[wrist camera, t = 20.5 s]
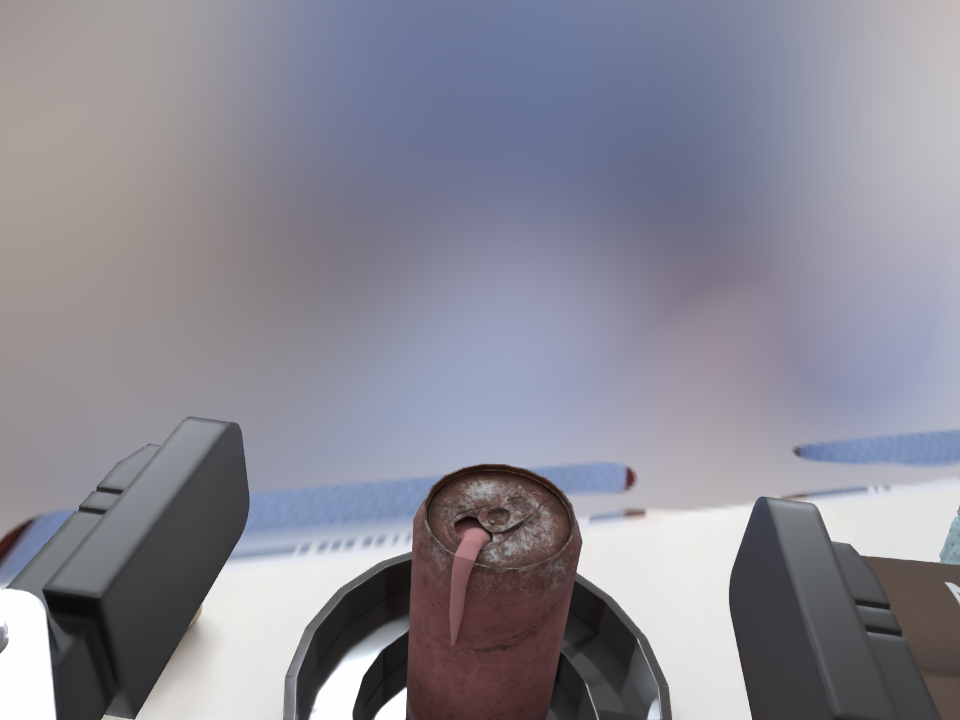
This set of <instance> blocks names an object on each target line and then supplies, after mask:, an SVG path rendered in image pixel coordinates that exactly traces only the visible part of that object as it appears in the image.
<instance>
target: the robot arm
mask: <svg viewBox="0 0 960 720" xmlns="http://www.w3.org/2000/svg"><path fill="white" fill-rule="evenodd" d="M248 511H249V490H248V481H247V473H246V465H245V456H244V448H243V440H242V433H241V429H240V427H239V425H238V424H237V423H233V422H226V421H219V420H211V419H204V418H197V417H187V418H185V419H184V420H183V421H182V422H181V423H180V424H179V425H178V426H177V428H176V429H175V430H174V431H173V432H172V434H171V435H170V436H169V437H168V438H167V440H166V441H165V442H164V443H163V444H162V445H154V444H148V445H146V446H145V447H143V448H141V449H140V450H138V451H136V452H135V453H133V454H132V455H130V456H128V457H127V458H125V459H123V460H122V461H120V462H118V463H117V465H116V466H115V467H114V468H113V469H112V470H111V471H110V472H109V473H108V475H107V476H106V477H105V478H104V479H103V480H102V481H101V482H100V483H99V485H98V486H97V490H96V492H95V491H92V492H91V494H90V495H89V496H88V497H87V498H86V499H85V500H84V501H83V503H82V504H81V505H80V506H79V510H78V512H76V511H74V513H73V514H72V515H71V516H70V517H69V518H68V519H67V520H66V522H65V523H64V524H63V525H62V526H61V527H60V528H59V529H58V531H57V532H56V533H55V534H54V535H53V536H52V537H51V538H50V540H49V541H48V542H47V543H46V544H45V545H44V546H43V547H42V548H41V550H40V551H39V552H38V553H37V554H36V555H35V556H34V557H33V559H32V560H31V561H30V562H29V563H28V564H27V565H26V566H25V568H24V569H23V570H22V571H21V572H20V573H19V574H18V575H17V577H16V578H15V579H14V580H13V581H12V582H11V583H10V584H9V585H8V586H7V587H6V588H5V589H0V720H101V719H102V717H103V716H104V714H105V715H111V716H117V717H122V718H128V719H134V720H135V718H136V716H137V714H138V713H139V711H140V709H141V708H142V706H143V704H144V702H145V701H146V699H147V697H148V696H149V694H150V692H151V690H152V689H153V687H154V685H155V683H156V682H157V680H158V678H159V677H160V675H161V673H162V671H163V670H164V668H165V666H166V664H167V663H168V661H169V659H170V658H171V656H172V654H173V652H174V651H175V649H176V647H177V645H178V644H179V642H180V640H181V639H182V637H183V635H184V633H185V632H186V630H187V628H188V627H189V625H190V623H191V621H192V620H193V618H194V616H195V614H196V613H197V611H198V609H199V608H200V606H201V604H202V602H203V601H204V599H205V597H206V595H207V594H208V592H209V590H210V589H211V587H212V585H213V583H214V582H215V580H216V578H217V577H218V575H219V573H220V571H221V570H222V568H223V566H224V564H225V563H226V561H227V559H228V558H229V556H230V554H231V552H232V551H233V549H234V547H235V545H236V544H237V542H238V540H239V539H240V537H241V535H242V533H243V530H244V527H245V525H246V521H247V517H248ZM729 605H730V613H731V618H732V623H733V627H734V632H735V637H736V642H737V647H738V652H739V657H740V662H741V666H742V671H743V676H744V681H745V686H746V691H747V696H748V701H749V705H750V710H751V715H752V720H942V719H941V716H940V714H939V712H938V710H937V707H936V705H935V703H934V701H933V699H932V696H931V694H930V692H929V690H928V687H927V685H926V683H925V681H924V678H923V676H922V674H921V672H920V669H919V667H918V665H917V663H916V660H915V658H914V656H913V654H912V651H911V649H910V647H909V645H908V642H907V640H906V638H905V637H902V629H901V627H900V624H899V622H898V620H897V618H896V615H895V613H894V611H891V610H890V605H891V604H890V602H889V600H888V598H887V595H886V593H885V591H884V589H883V586H882V584H881V582H880V580H879V577H878V575H877V573H876V572H875V571H874V570H873V569H872V568H871V566H870V565H869V564H868V563H867V562H866V561H865V560H864V559H863V558H862V557H861V556H860V555H859V553H858V552H857V551H856V550H855V549H854V548H853V547H852V546H851V545H850V544H846V543H839V542H832V541H831V540H830V537H829V535H828V532H827V530H826V527H825V525H824V522H823V519H822V517H821V514H820V512H819V510H818V508H817V507H816V505H814V504H812V503H806V502H799V501H791V500H784V499H777V498H769V497H760V498H758V500H757V501H756V503H755V505H754V507H753V510H752V513H751V516H750V519H749V522H748V525H747V528H746V531H745V533H744V536H743V539H742V542H741V545H740V548H739V551H738V554H737V557H736V560H735V563H734V565H733V569H732V573H731V578H730V586H729Z"/></svg>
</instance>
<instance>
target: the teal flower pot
mask: <svg viewBox="0 0 960 720" xmlns="http://www.w3.org/2000/svg"><path fill="white" fill-rule="evenodd" d="M957 513H958V517H955V519H954V521H953V522H952V524H951V527H950V531H949V533H948V536H947V538H946V541H945V544H944V547H943V549H942V551H941V553H940V555H939V556H940V558H941V561H940V562H939V563H947V564H956V565H960V505H959V509H958V512H957Z"/></svg>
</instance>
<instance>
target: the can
mask: <svg viewBox="0 0 960 720" xmlns="http://www.w3.org/2000/svg"><path fill="white" fill-rule="evenodd" d="M581 546H582V538H581V534H580V530H579V525H578V522H577V520H576V518H575V515H574V511H573V507H572V504H571V503H570V502H569V500H568V499H567V497H566V496H565V494H564V493H563V491H562V490H561V489H559V488H558V487H557V486H555V485H554V484H553V483H552V482H550V481H549V480H548V479H547V478H545V477H542V476H540V475H538V474H536V473H534V472H532V471H529V470H527V469H523V468H519V467H515V466H510V465H506V464H480V465H474V466H469V467H463V468H461V469H458V470H456V471H454V472H452V473H449V474H447V475H445V476H444V477H443V478H442V479H440V480H439V481H438V482H437V483H436V484H435V485H433V486H432V487H431V489H430V491H429V493H428V495H427V497H426V498H425V500H424V501H423V502H422V504H421V506H420V508H419V510H418V512H417V514H416V515H415V517H414V521H413V545H412V570H411V595H410V619H409V644H408V669H407V693H406V718H405V720H547V716H548V711H549V706H550V701H551V696H552V691H553V686H554V681H555V676H556V671H557V666H558V661H559V656H560V651H561V646H562V641H563V636H564V631H565V626H566V621H567V616H568V611H569V606H570V601H571V596H572V591H573V586H574V581H575V576H576V571H577V566H578V561H579V556H580V551H581Z"/></svg>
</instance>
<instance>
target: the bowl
mask: <svg viewBox="0 0 960 720" xmlns="http://www.w3.org/2000/svg"><path fill="white" fill-rule="evenodd" d="M411 570H412V552H409V553H406V554H403V555H400V556H397V557H394V558H391V559H388V560H385V561H382V562H380V563H378V564H377V565H375V566H373V567H372V568H370V569H369V570H367V571H366V572H364V573H363V574H361V575H360V576H358V577H356V578H355V579H353V580H352V581H350V582H349V583H347V584H346V585H344V586H343V587H341V588H340V589H339V590H338V591H337V592H336V593H335V594H334V595H333V596H332V598H331V599H330V600H329V601H328V602H327V603H326V605H325V606H324V607H323V608H322V609H321V610H320V612H319V613H318V614H317V615H316V616H315V617H314V619H313V620H312V621H311V622H310V623H309V624H308V626H307V627H306V628H305V630H304V633H303V635H302V638H301V640H300V643H299V645H298V647H297V650H296V652H295V655H294V657H293V659H292V662H291V664H290V667H289V669H288V672H287V674H286V678H285V689H284V710H283V720H405V718H406V693H407V669H408V644H409V619H410V595H411ZM547 720H672V713H671V704H670V695H669V687H668V684H667V682H666V679H665V677H664V675H663V673H662V671H661V668H660V666H659V664H658V662H657V660H656V657H655V655H654V653H653V651H652V648H651V646H650V644H649V642H648V640H647V638H646V636H645V635H644V634H643V633H642V632H641V630H640V629H639V628H638V627H637V626H636V625H635V623H634V622H633V621H632V620H631V619H630V618H629V616H628V615H627V614H626V613H625V612H624V610H623V609H622V608H621V607H620V606H619V605H618V603H617V602H616V601H615V600H614V599H613V598H612V597H611V596H609V595H608V594H607V593H605V592H604V591H602V590H601V589H599V588H598V587H597V586H595V585H594V584H592V583H591V582H589V581H588V580H587V579H585V578H584V577H582V576H581V575H579V574H578V573H577V572H576V576H575V581H574V586H573V591H572V596H571V601H570V606H569V611H568V616H567V621H566V626H565V631H564V636H563V641H562V646H561V651H560V656H559V661H558V666H557V671H556V676H555V681H554V686H553V691H552V696H551V701H550V706H549V711H548V716H547Z"/></svg>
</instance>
